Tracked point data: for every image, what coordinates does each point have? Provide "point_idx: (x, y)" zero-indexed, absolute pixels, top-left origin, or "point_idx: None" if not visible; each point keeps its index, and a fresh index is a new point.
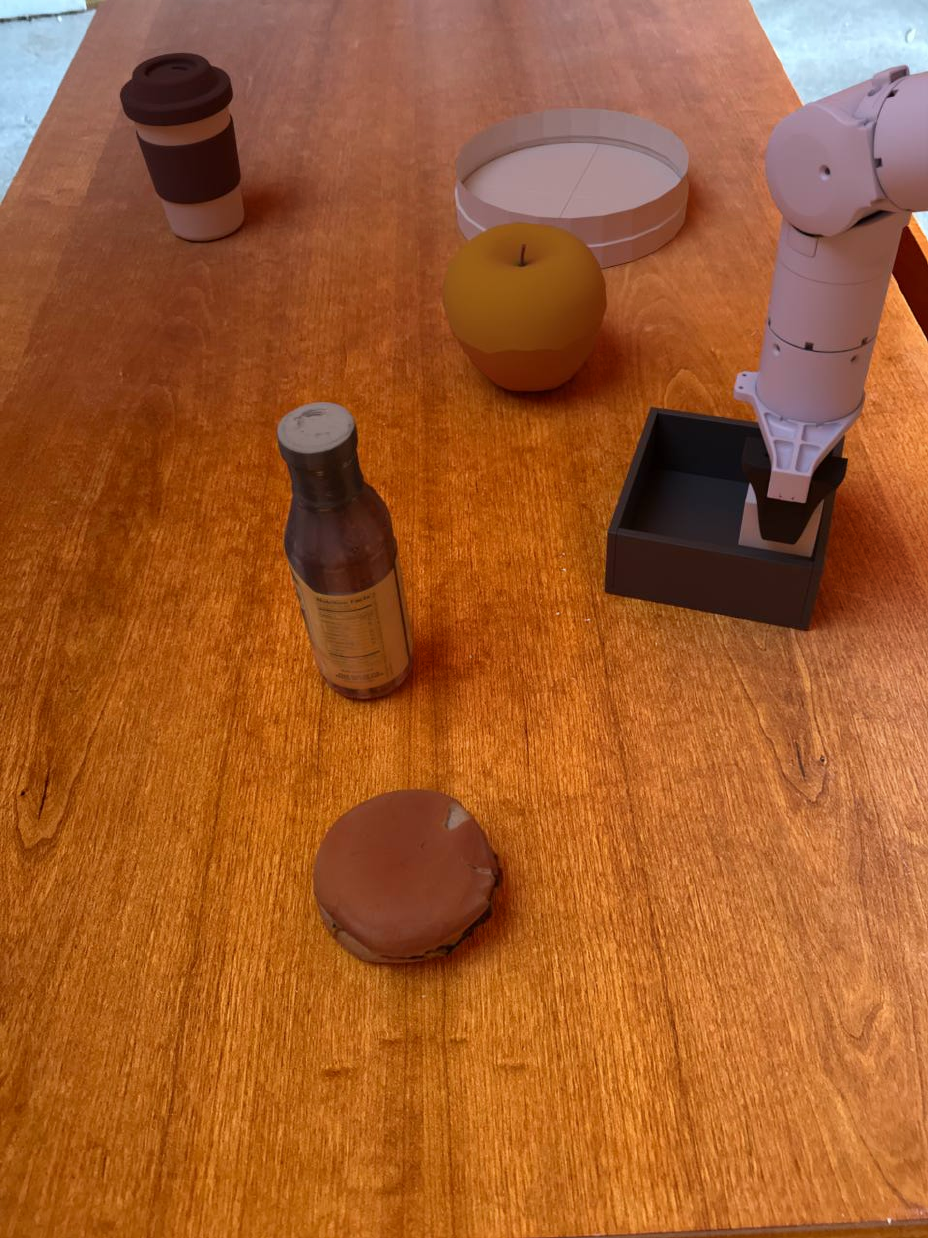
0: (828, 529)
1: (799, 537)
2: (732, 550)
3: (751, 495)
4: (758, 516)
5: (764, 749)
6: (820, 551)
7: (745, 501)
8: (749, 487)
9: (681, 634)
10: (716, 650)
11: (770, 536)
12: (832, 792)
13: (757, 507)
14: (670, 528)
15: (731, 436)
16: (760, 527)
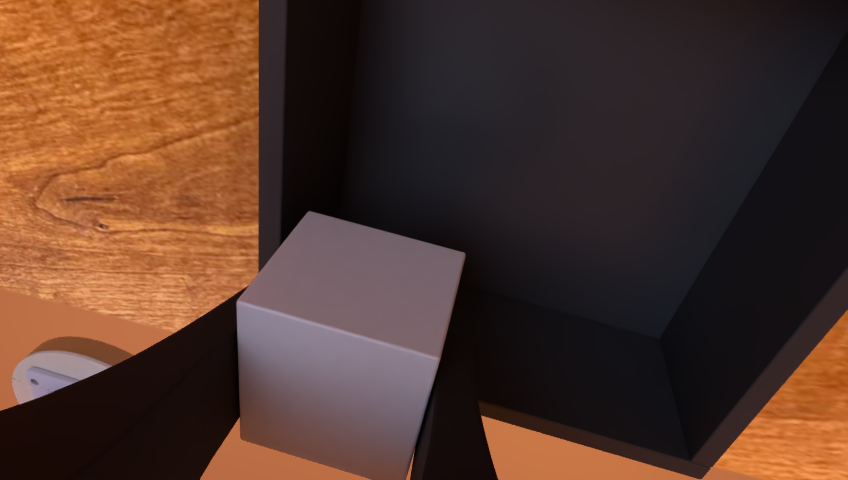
0: None
1: None
2: (272, 197)
3: (265, 320)
4: (202, 316)
5: (83, 155)
6: None
7: (241, 300)
8: (300, 321)
9: None
10: (249, 99)
11: None
12: (60, 229)
13: (168, 337)
14: (588, 15)
15: (821, 242)
16: (231, 297)
